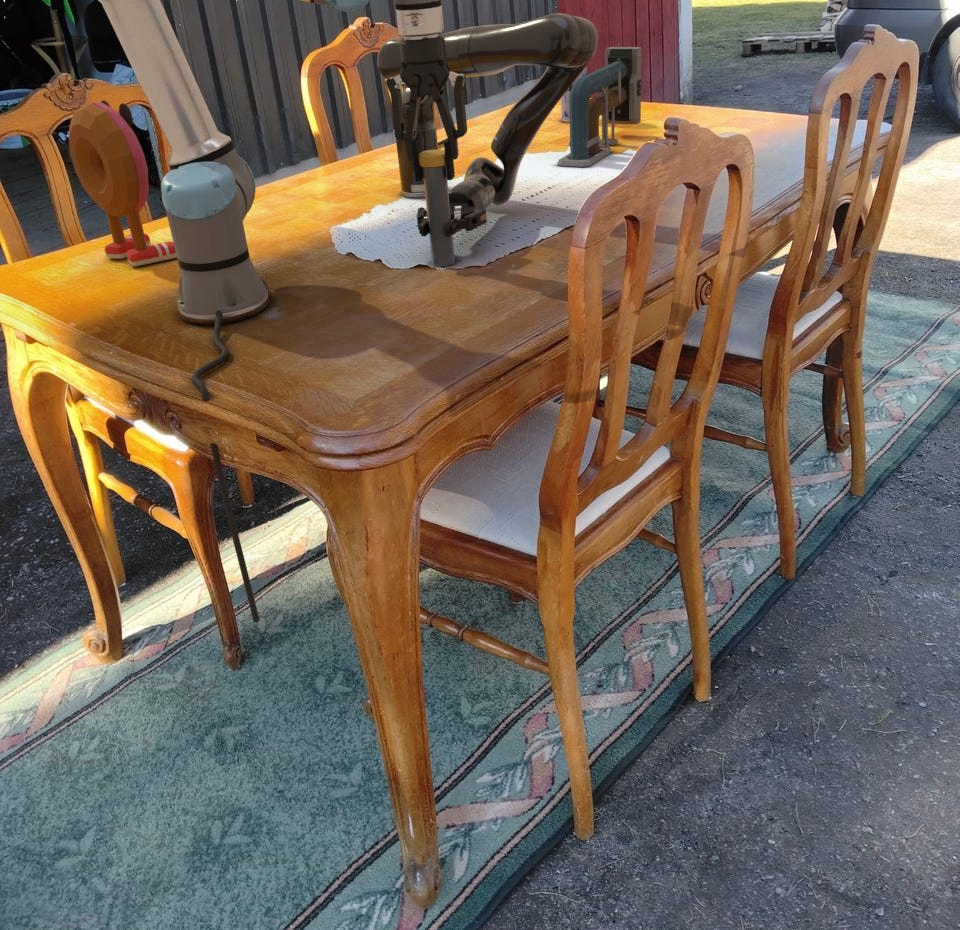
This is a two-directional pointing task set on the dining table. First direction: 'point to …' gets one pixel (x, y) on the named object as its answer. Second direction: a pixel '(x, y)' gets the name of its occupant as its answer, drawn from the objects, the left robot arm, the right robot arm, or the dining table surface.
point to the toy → (115, 178)
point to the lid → (432, 158)
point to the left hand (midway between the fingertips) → (435, 178)
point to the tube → (438, 215)
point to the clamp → (603, 105)
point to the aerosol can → (565, 99)
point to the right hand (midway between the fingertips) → (435, 231)
